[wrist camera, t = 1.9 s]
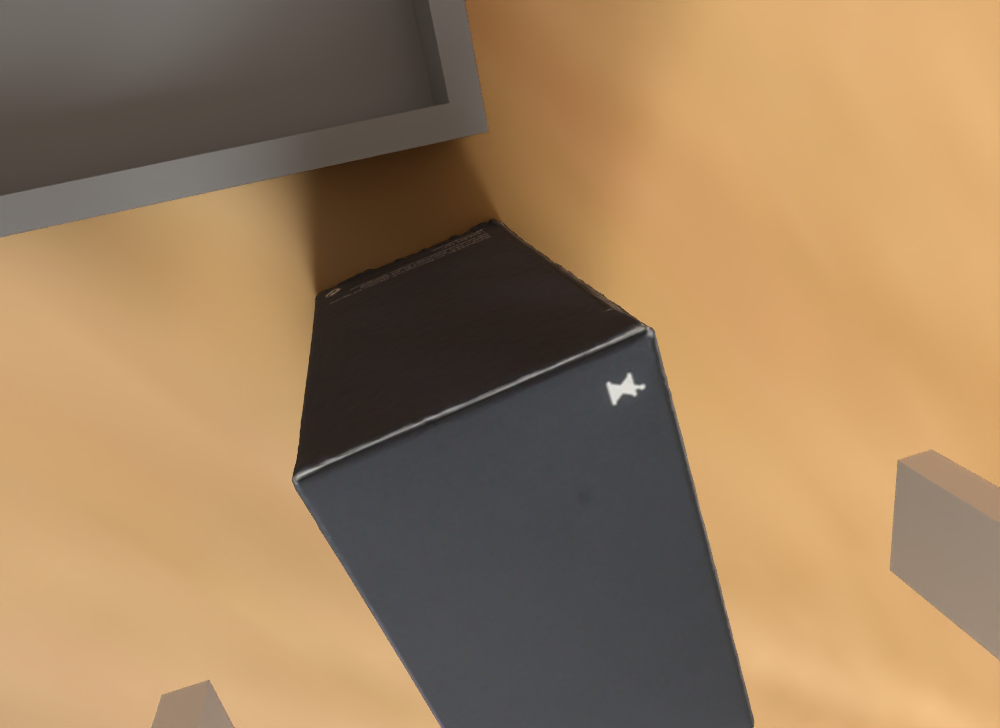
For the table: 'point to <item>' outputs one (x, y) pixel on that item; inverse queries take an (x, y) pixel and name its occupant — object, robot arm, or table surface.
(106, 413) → the table surface
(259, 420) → the table surface
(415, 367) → the small box
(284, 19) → the tray
